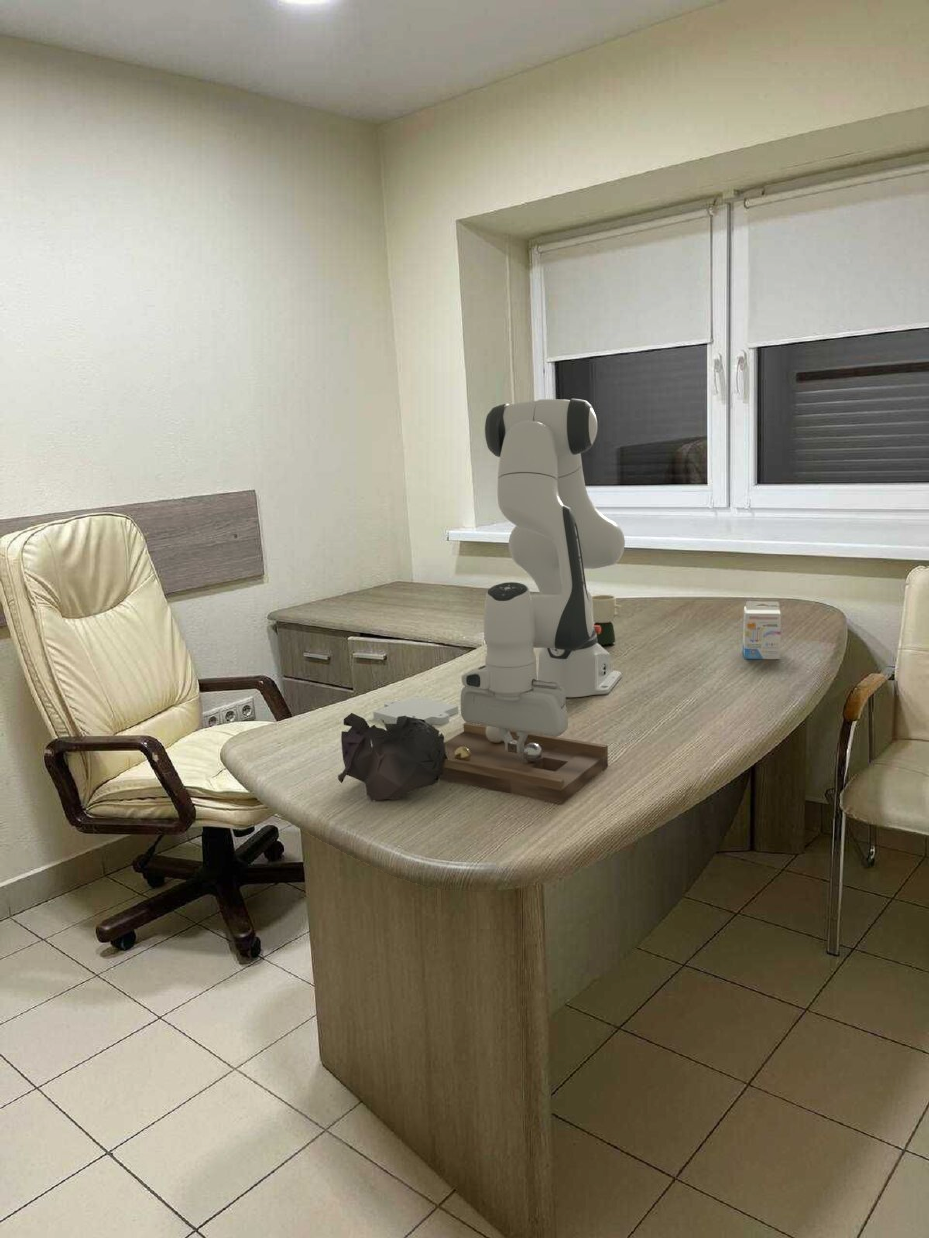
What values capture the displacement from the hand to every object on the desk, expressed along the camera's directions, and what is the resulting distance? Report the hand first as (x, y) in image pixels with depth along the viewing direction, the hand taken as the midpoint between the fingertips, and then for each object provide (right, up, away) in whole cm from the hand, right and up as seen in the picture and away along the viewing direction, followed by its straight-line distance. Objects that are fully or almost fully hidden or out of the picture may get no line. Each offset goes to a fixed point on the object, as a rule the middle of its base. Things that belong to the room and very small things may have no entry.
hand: (514, 751), depth 162 cm
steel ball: (+3, 0, -2) cm, 4 cm away
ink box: (+65, +14, +66) cm, 94 cm away
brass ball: (-9, -1, -1) cm, 9 cm away
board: (-1, -4, +2) cm, 4 cm away
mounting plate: (-19, +2, +35) cm, 40 cm away
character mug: (+29, +17, +85) cm, 91 cm away
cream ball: (-3, +2, +8) cm, 9 cm away
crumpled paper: (-20, -7, -6) cm, 22 cm away
